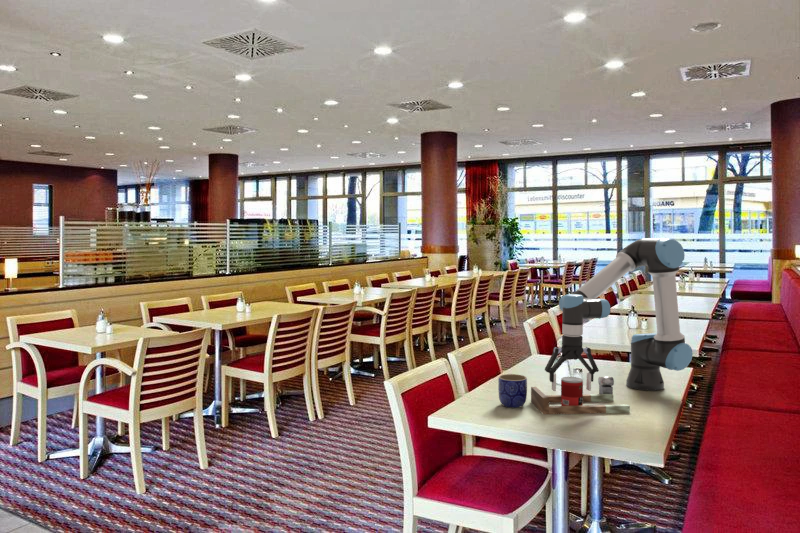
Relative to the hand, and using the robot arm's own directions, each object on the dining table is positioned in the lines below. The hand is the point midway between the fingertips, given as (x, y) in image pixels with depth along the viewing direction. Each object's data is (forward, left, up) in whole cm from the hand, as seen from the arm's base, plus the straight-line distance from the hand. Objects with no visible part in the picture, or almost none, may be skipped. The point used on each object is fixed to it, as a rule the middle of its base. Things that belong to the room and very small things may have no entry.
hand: (571, 390), depth 232 cm
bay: (-3, 0, -7) cm, 7 cm away
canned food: (0, 0, -7) cm, 7 cm away
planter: (+22, -4, -7) cm, 23 cm away
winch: (-18, -12, -7) cm, 23 cm away
